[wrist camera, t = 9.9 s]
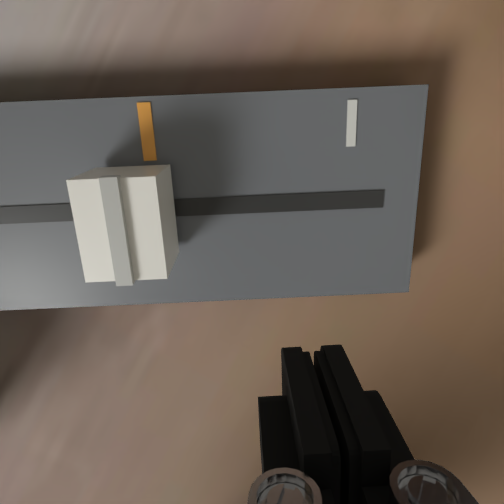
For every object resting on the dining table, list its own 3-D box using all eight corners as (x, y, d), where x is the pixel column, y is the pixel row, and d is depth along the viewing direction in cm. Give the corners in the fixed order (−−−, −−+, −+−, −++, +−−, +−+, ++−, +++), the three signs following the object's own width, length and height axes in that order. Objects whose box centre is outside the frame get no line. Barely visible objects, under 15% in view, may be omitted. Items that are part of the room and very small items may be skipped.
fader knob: (179, 253, 24) (166, 284, 20) (110, 256, 24) (82, 287, 20) (170, 162, 22) (153, 175, 18) (95, 165, 22) (61, 179, 18)
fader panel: (392, 273, 29) (409, 292, 26) (-15, 291, 28) (-44, 313, 25) (407, 86, 25) (429, 84, 22) (-67, 106, 24) (-109, 106, 21)
